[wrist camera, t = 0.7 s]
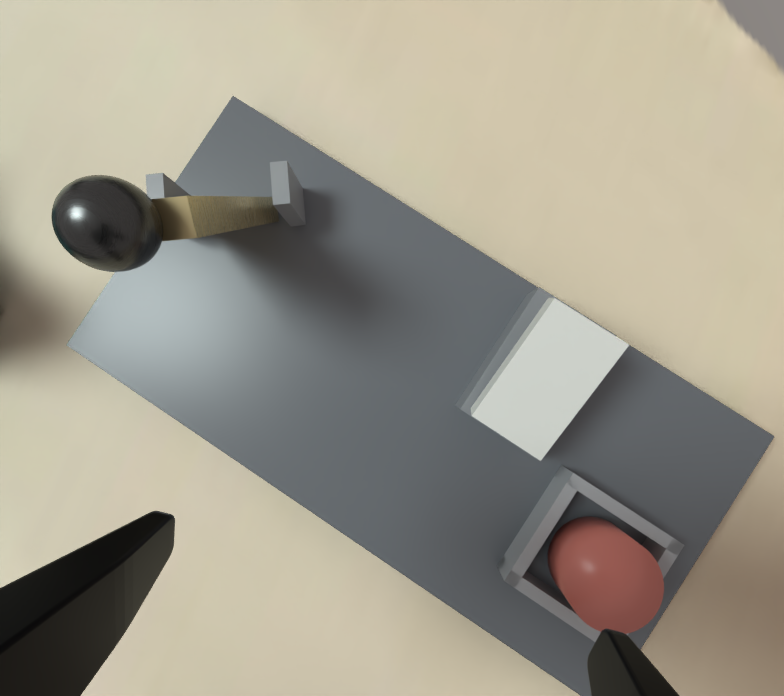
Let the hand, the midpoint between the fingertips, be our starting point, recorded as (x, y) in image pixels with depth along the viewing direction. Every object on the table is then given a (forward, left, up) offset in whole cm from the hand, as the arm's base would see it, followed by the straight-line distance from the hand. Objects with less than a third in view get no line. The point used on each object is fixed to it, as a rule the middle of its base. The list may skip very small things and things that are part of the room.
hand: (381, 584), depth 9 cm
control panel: (+3, +1, -15) cm, 15 cm away
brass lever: (+6, +14, -13) cm, 20 cm away
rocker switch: (+7, -3, -11) cm, 14 cm away
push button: (+1, -10, -12) cm, 16 cm away
